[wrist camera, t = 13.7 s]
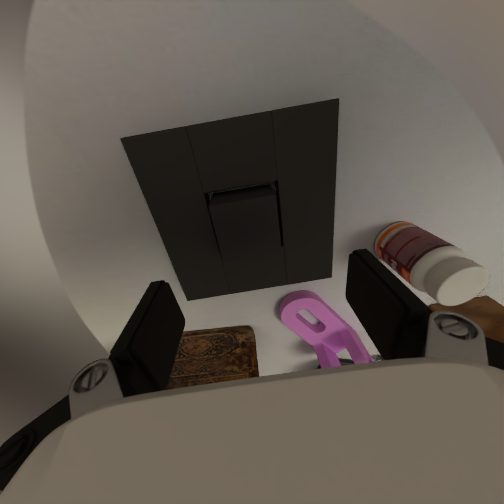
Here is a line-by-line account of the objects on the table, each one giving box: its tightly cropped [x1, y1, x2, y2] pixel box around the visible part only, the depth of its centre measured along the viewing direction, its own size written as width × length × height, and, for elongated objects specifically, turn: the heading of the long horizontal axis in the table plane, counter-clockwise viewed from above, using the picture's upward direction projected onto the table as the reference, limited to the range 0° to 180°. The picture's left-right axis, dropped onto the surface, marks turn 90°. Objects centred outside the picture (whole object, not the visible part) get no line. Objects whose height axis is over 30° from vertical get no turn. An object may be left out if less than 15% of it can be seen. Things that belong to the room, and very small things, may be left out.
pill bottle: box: [375, 222, 490, 306], centre depth 20 cm, size 5×5×8 cm
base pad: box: [120, 98, 339, 301], centre depth 20 cm, size 16×16×2 cm
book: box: [166, 326, 259, 390], centre depth 20 cm, size 16×6×25 cm, turn 94°
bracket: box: [279, 290, 374, 368], centre depth 27 cm, size 13×6×7 cm, turn 43°
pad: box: [209, 184, 282, 263], centre depth 20 cm, size 5×5×4 cm
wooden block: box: [429, 296, 504, 343], centre depth 28 cm, size 8×8×8 cm
